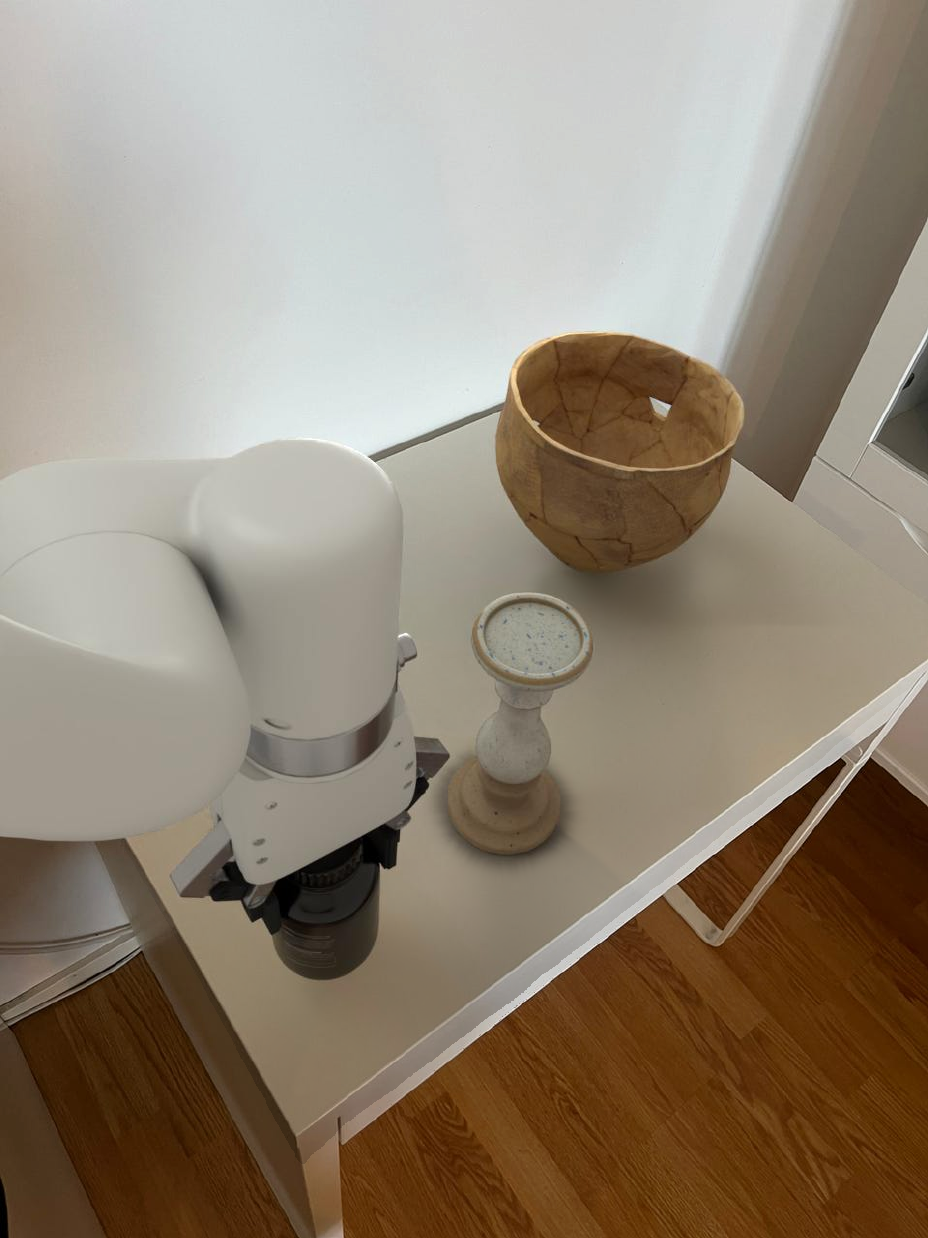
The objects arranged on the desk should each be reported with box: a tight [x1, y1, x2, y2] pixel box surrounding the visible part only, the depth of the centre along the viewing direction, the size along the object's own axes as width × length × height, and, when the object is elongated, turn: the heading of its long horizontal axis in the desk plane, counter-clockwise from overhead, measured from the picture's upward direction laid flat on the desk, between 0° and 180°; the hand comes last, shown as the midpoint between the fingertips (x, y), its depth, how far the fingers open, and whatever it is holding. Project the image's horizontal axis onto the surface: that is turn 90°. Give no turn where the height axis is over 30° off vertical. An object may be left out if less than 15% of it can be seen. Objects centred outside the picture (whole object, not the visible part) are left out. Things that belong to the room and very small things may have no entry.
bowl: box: [494, 330, 745, 575], centre depth 83 cm, size 21×20×20 cm
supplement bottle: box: [271, 834, 381, 981], centre depth 56 cm, size 7×7×12 cm
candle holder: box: [446, 591, 594, 855], centre depth 65 cm, size 9×9×20 cm
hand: (322, 879), depth 55 cm, fingers closed on supplement bottle, 6 cm apart
